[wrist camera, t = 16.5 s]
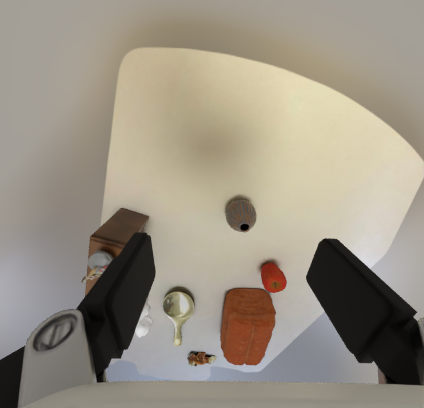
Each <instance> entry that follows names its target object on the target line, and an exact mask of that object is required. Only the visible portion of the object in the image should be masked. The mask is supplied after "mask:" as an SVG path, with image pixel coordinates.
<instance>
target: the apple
mask: <svg viewBox="0 0 424 408" xmlns="http://www.w3.org/2000/svg"><path fill="white" fill-rule="evenodd" d="M261 278H262V283H263V285H264V288H265V289H266V290H267V291H269V292H272V293H275V292H279V291H282V290H283V289H285V287H286V283H287V281H286V278H285V276H284V274H283V272H282V271H281V270H280V269H279V268H278V267H277V266H276V265H275V264H274V263H267V264H265V265H264V266H263V267H262V270H261Z"/></svg>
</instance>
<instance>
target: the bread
mask: <svg viewBox="0 0 424 408" xmlns="http://www.w3.org/2000/svg"><path fill="white" fill-rule="evenodd" d="M275 314H276V311H275V309H274V306H273V303H272V299H271V297H270V295H269V294H268V293H267V292H266V291H264V290H261V289H246V288H236V289H232V290H230V291H229V293H228V294H227V296H226V299H225V303H224V310H223V318H222V327H221V336H220V340H221V348H222V350H223V352H224V357H225V358H226V359H227V361H228V362H230V363H232V364H234V365H243V364H244V363H245V364H246V365H257V364H259V363H260V362H261V360H262V358H263V357H264V355H265V351H266V348H267V346H268V343H269V341H270V339H271V335H272V330H273V328H274V326H275Z"/></svg>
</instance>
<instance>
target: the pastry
mask: <svg viewBox="0 0 424 408" xmlns="http://www.w3.org/2000/svg"><path fill="white" fill-rule="evenodd" d="M204 356H205V352H203V353H200V352H199V353H198V355H197V356H195V354H193V353H192V354H191V355H189V356H188V357H189V358H188V361H189V364H188V365H191V366H192V365H193V366H197V364H200V365H203V364H205V363H208V364H211V362H214V361H215V360H216V356H212V357H210V358H209V357H204ZM192 363H193V364H192Z"/></svg>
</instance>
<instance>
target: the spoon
mask: <svg viewBox="0 0 424 408" xmlns="http://www.w3.org/2000/svg"><path fill="white" fill-rule="evenodd" d="M162 308H163V311H164V313H165V315H166V316H167V317H168V318H169V319H170V320H171V321H172V323H173V324H174V327H175V336H174V345H176V346H180V345H181V341H182V340H181V327H182V325H183V324H184V322H185V321H186V320H187V319H188V318H190V317H191V316H192V314H193V312H194V302H193V300H192V298H191V297H190V296H189V295H187V294H186V293H184V292H179V291H178V292H172V293H169V294H168V295H167V296H166V297H165V298H164V300H163V305H162Z"/></svg>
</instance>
